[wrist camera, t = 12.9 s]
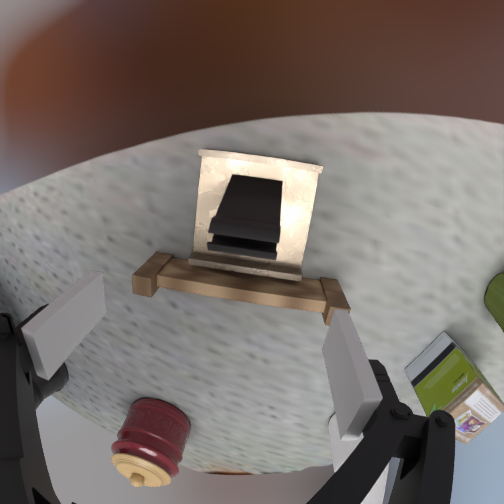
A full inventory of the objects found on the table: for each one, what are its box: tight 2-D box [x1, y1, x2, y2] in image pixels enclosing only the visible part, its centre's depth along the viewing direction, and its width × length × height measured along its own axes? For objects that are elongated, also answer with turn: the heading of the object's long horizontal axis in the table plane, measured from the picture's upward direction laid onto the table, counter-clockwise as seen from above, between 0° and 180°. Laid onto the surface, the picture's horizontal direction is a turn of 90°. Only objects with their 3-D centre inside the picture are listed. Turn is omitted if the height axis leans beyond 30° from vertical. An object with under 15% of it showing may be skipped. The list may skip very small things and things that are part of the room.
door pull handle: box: [132, 252, 351, 325], centre depth 36 cm, size 25×2×8 cm, turn 82°
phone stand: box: [207, 174, 283, 260], centre depth 30 cm, size 9×6×12 cm, turn 172°
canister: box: [111, 398, 190, 487], centre depth 43 cm, size 13×13×18 cm
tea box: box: [405, 332, 504, 444], centre depth 36 cm, size 15×10×15 cm, turn 53°
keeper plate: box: [188, 149, 323, 282], centre depth 35 cm, size 14×14×3 cm
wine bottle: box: [328, 414, 389, 504], centre depth 34 cm, size 10×10×30 cm
